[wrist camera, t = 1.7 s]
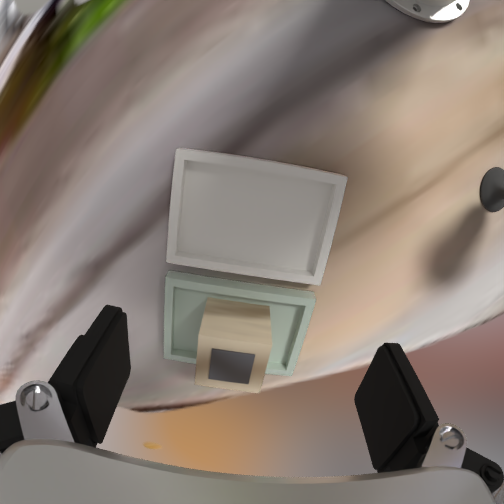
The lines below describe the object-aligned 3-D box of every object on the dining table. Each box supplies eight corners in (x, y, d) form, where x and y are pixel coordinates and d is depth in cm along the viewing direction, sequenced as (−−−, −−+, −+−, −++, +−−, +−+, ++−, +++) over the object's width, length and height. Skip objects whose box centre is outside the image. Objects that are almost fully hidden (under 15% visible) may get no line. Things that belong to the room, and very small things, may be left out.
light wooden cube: (207, 297, 31) (198, 335, 25) (269, 306, 31) (272, 346, 25) (202, 345, 33) (194, 386, 27) (258, 353, 33) (259, 395, 28)
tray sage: (169, 270, 30) (165, 277, 29) (313, 291, 31) (316, 299, 29) (166, 349, 34) (163, 358, 32) (290, 367, 34) (291, 376, 33)
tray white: (180, 147, 26) (176, 149, 24) (342, 174, 26) (347, 177, 25) (169, 255, 29) (166, 262, 28) (317, 278, 30) (320, 285, 29)
